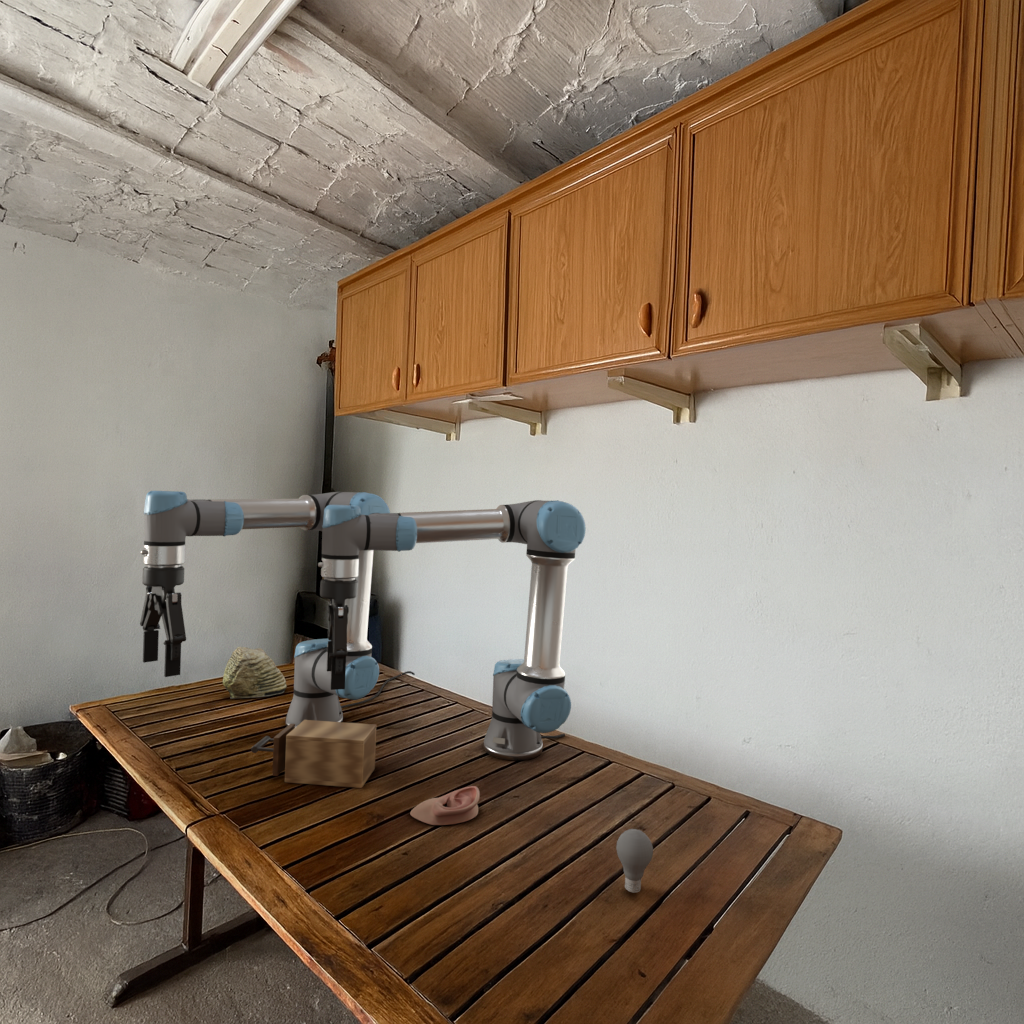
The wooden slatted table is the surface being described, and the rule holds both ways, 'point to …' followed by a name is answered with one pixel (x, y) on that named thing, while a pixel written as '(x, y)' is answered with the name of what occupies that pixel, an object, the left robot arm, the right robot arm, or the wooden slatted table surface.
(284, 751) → the drawer
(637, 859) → the light bulb
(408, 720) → the wooden slatted table surface
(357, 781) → the cabinet
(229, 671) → the fossil
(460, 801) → the anatomical model
